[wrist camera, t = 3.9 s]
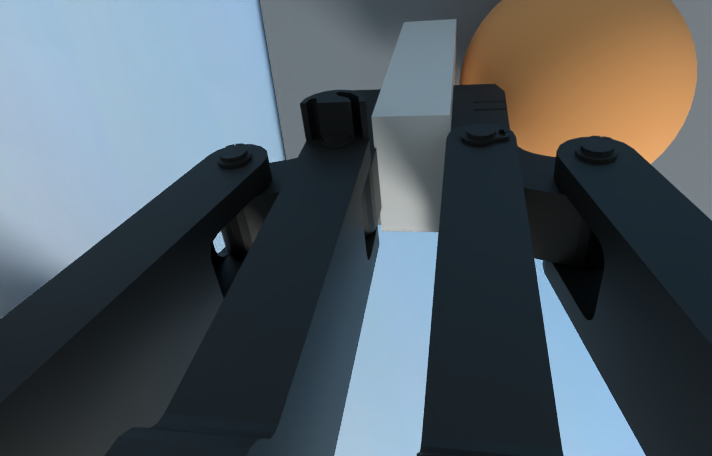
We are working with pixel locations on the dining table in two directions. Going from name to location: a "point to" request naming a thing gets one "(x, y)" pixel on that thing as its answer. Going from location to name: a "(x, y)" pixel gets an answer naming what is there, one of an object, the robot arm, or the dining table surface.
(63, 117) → the dining table surface
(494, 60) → the ball
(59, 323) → the robot arm
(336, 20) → the mat
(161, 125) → the dining table surface
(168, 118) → the dining table surface
